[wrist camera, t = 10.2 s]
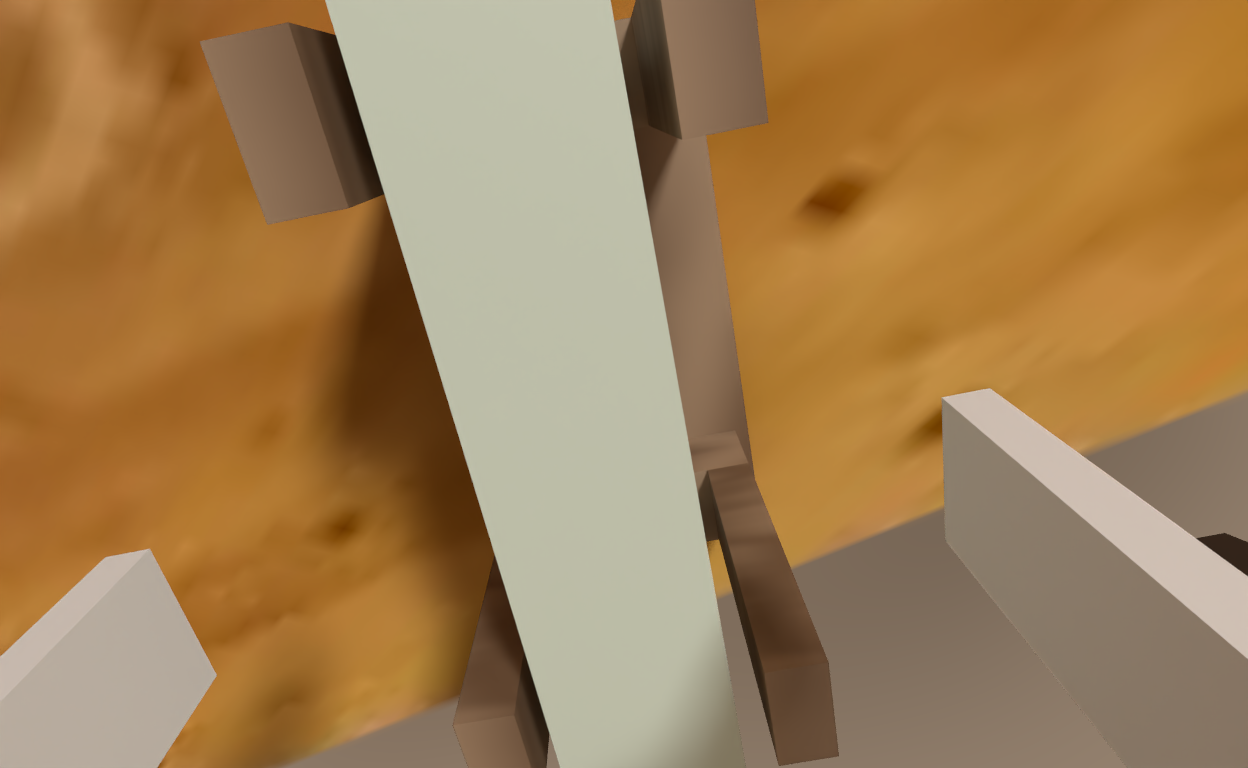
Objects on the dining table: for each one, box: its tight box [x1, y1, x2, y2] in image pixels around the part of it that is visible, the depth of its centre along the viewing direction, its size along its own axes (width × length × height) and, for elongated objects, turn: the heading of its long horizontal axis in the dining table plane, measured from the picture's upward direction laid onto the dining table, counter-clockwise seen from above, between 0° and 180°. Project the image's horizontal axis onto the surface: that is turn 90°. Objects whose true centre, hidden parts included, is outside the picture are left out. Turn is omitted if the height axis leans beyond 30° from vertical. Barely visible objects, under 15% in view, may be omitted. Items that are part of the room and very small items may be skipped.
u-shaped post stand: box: [200, 0, 839, 768], centre depth 21 cm, size 10×18×14 cm, turn 11°
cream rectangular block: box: [325, 0, 746, 768], centre depth 19 cm, size 4×21×10 cm, turn 11°
